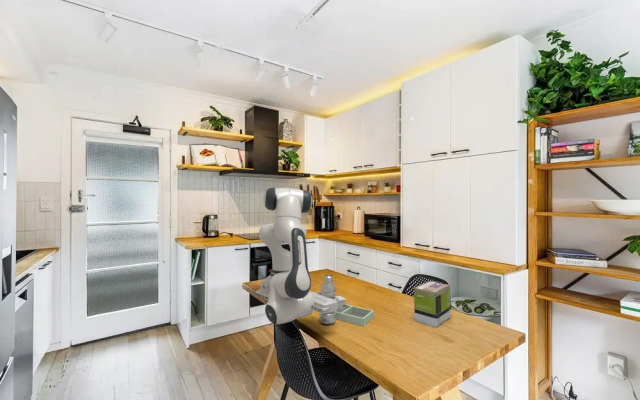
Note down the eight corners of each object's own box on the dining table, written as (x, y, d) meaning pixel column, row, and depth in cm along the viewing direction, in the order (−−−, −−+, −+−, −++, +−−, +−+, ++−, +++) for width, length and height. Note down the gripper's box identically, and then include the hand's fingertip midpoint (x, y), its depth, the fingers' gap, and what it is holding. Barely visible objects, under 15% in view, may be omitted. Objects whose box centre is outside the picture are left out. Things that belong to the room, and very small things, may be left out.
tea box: (429, 311, 139) (429, 280, 139) (451, 318, 131) (451, 284, 131) (413, 320, 128) (413, 286, 128) (436, 328, 121) (436, 291, 121)
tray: (320, 315, 133) (320, 308, 133) (332, 307, 143) (332, 301, 143) (363, 326, 122) (363, 319, 122) (374, 317, 131) (374, 310, 131)
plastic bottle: (319, 320, 128) (319, 273, 128) (334, 319, 128) (335, 273, 128) (320, 326, 121) (321, 277, 121) (337, 326, 122) (337, 277, 122)
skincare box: (334, 317, 131) (334, 300, 131) (327, 312, 136) (327, 296, 136) (345, 315, 134) (346, 298, 134) (339, 310, 139) (339, 294, 139)
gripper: (322, 303, 108) (347, 295, 118) (289, 290, 124) (314, 283, 133) (322, 320, 108) (347, 311, 118) (289, 305, 124) (313, 298, 133)
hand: (329, 296), depth 125 cm, fingers open, 8 cm apart
